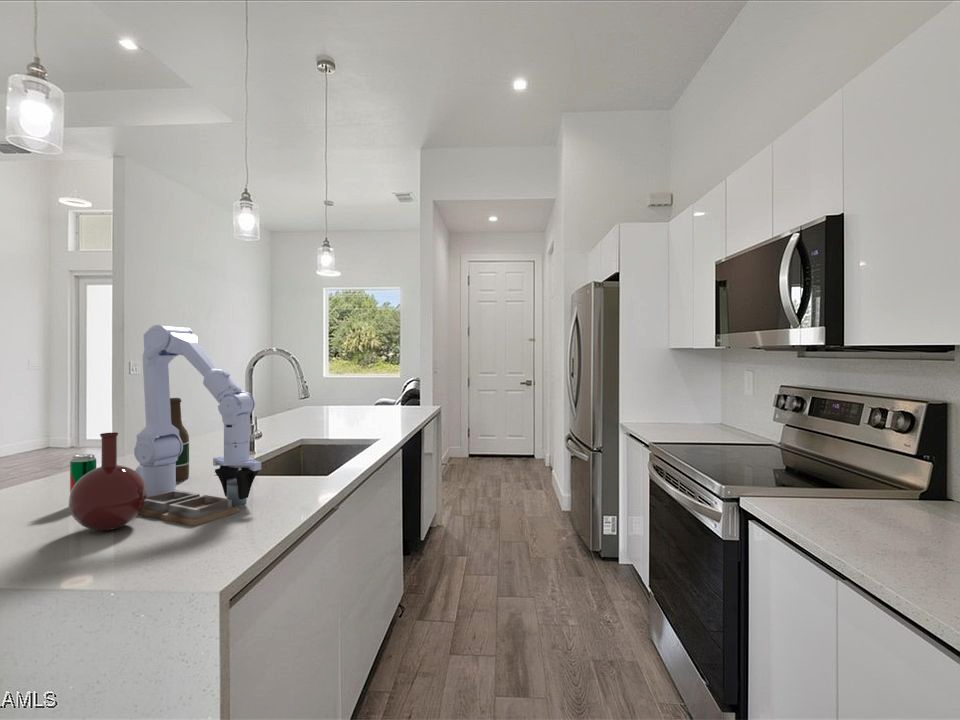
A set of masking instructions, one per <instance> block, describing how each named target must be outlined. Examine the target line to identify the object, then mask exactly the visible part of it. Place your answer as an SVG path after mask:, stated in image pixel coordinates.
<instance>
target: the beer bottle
mask: <svg viewBox="0 0 960 720" xmlns="http://www.w3.org/2000/svg"><path fill="white" fill-rule="evenodd" d="M181 403H182V399H181V398H180V397H170V408H171V424H172V425H173V426H175V427H176V428H177V429H178V430H179V435H180V438H181V440H182V443H183V450H182V453H181V454H180V456H178V460H177V461H175V462H176V483H179V482H184V481H186V480H188V479H189V477H190V435H189V433H188V430H187V429H186V427H185V426H184V425H183V422H182V410H181ZM158 437H163V436H158Z"/></svg>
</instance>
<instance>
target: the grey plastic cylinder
mask: <svg viewBox="0 0 960 720" xmlns="http://www.w3.org/2000/svg"><path fill="white" fill-rule="evenodd" d="M226 499H231V500H232V507H241V506H244V505H247V500H248V498H245V499H239V495H238V484H237V480H236V478H230V479H228V480H227V497H226Z"/></svg>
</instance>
